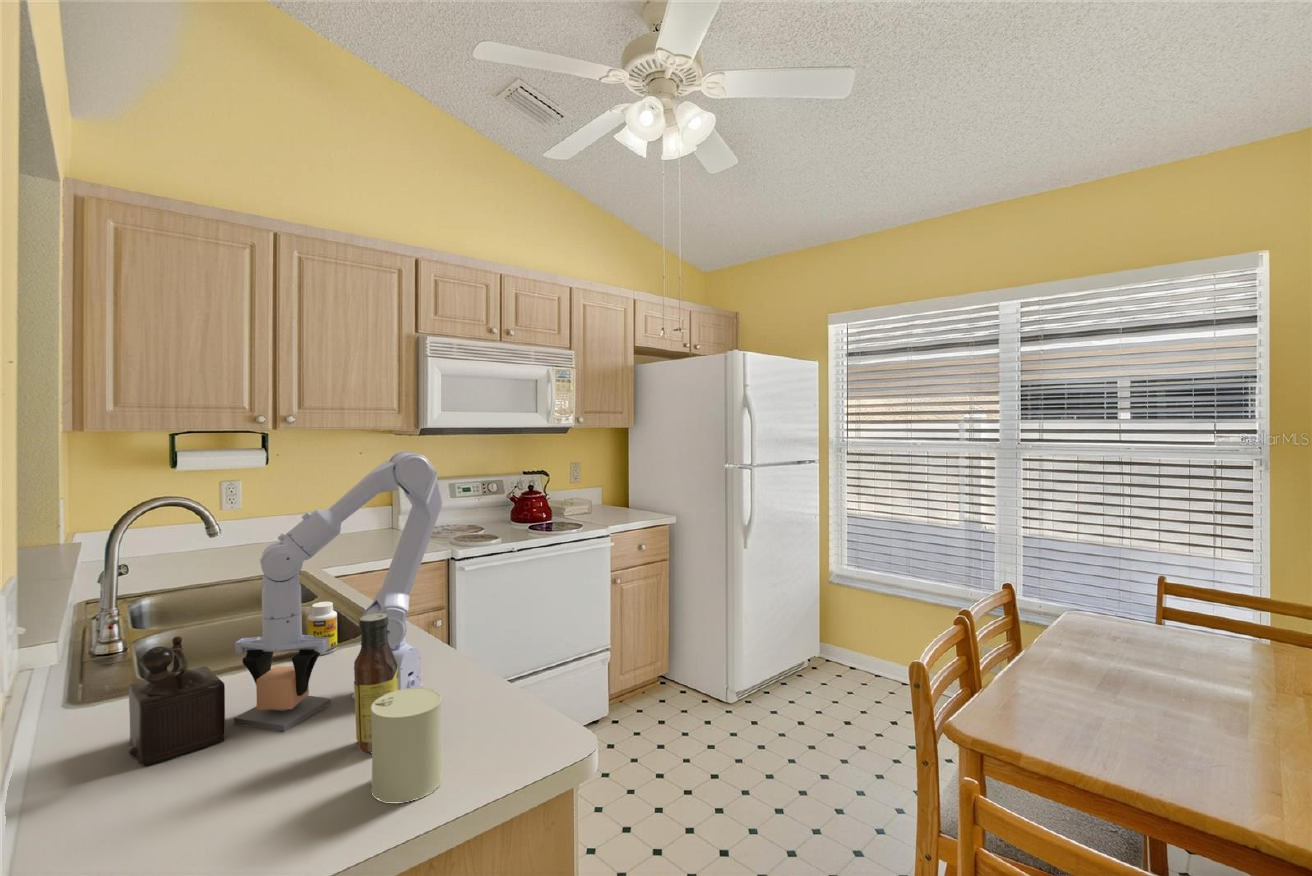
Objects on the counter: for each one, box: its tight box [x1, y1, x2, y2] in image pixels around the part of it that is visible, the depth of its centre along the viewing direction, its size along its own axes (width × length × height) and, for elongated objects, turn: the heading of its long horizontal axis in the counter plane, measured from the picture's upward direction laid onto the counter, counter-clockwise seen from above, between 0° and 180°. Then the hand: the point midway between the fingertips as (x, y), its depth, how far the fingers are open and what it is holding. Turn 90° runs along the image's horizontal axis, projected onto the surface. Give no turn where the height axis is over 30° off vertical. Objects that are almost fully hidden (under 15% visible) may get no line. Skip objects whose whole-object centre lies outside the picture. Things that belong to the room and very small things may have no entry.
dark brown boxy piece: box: [128, 636, 226, 767], centre depth 96 cm, size 16×11×18 cm
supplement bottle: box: [307, 601, 338, 656], centre depth 136 cm, size 6×6×10 cm
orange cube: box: [255, 665, 310, 710], centre depth 108 cm, size 6×6×5 cm
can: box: [370, 687, 444, 802], centre depth 88 cm, size 9×9×12 cm
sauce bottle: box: [353, 613, 399, 753], centre depth 98 cm, size 6×6×20 cm
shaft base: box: [233, 695, 332, 732], centre depth 108 cm, size 10×10×4 cm
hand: (283, 693), depth 108 cm, fingers closed on orange cube, 6 cm apart
